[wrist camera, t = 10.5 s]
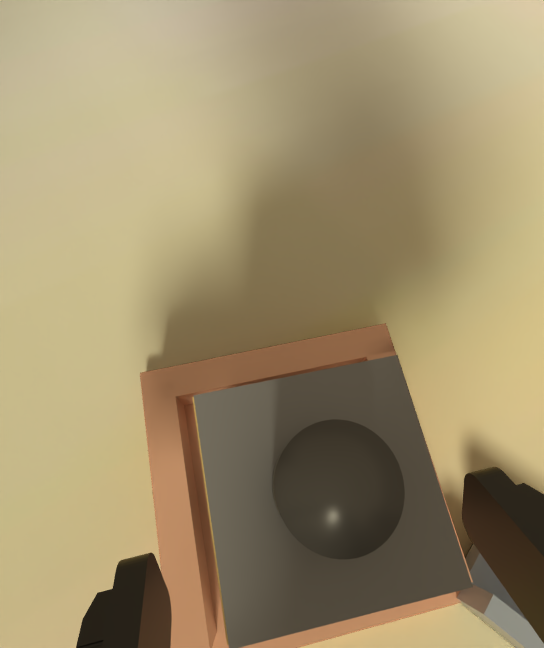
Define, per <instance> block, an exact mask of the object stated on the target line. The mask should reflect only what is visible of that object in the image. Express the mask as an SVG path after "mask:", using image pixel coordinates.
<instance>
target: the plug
mask: <svg viewBox="0 0 544 648" xmlns="http://www.w3.org/2000/svg"><path fill="white" fill-rule="evenodd" d="M193 396H194V397H192V398H193V405H194V412H195V419H196V427H197V434H198V441H199V448H200V455H201V462H202V469H203V477H204V484H205V491H206V498H207V505H208V512H209V519H210V527H211V534H212V541H213V548H214V555H215V562H216V569H217V576H218V584H219V591H220V598H221V605H222V612H223V619H224V626H225V634H226V641H227V645H229V648H240V647H244V646H248V645H252V644H256V643H259V642H263V641H267V640H271V639H275V638H279V637H283V636H286V635H290V634H294V633H298V632H302V631H306V630H310V629H313V628H317V627H321V626H325V625H329V624H333V623H337V622H341V621H344V620H348V619H352V618H356V617H360V616H364V615H368V614H371V613H375V612H379V611H383V610H387V609H391V608H395V607H398V606H402V605H406V604H410V603H414V602H418V601H422V600H425V599H429V598H433V597H437V596H441V595H445V594H449V593H452V592H456V591H460V590H464V589H468V588H472V587H473V585H472V582H471V579H470V576H469V573H468V570H467V567H466V564H465V561H464V558H463V555H462V552H461V549H460V546H459V543H458V540H457V536H456V533H455V530H454V527H453V524H452V521H451V518H450V515H449V512H448V509H447V506H446V503H445V500H444V497H443V494H442V491H441V488H440V484H439V481H438V478H437V475H436V472H435V469H434V466H433V463H432V460H431V457H430V454H429V451H428V448H427V445H426V442H425V439H424V436H423V432H422V429H421V426H420V423H419V420H418V417H417V414H416V411H415V408H414V405H413V402H412V399H411V396H410V393H409V390H408V387H407V384H406V380H405V377H404V374H403V371H402V368H401V365H400V362H399V359H398V356H397V355H394V356H389V357H384V358H379V359H374V360H369V361H364V362H359V363H354V364H349V365H344V366H339V367H334V368H329V369H324V370H319V371H314V372H309V373H304V374H299V375H294V376H289V377H283V378H278V379H273V380H268V381H263V382H258V383H253V384H248V385H243V386H238V387H233V388H228V389H223V390H218V391H213V392H208V393H203V394H198V395H193Z"/></svg>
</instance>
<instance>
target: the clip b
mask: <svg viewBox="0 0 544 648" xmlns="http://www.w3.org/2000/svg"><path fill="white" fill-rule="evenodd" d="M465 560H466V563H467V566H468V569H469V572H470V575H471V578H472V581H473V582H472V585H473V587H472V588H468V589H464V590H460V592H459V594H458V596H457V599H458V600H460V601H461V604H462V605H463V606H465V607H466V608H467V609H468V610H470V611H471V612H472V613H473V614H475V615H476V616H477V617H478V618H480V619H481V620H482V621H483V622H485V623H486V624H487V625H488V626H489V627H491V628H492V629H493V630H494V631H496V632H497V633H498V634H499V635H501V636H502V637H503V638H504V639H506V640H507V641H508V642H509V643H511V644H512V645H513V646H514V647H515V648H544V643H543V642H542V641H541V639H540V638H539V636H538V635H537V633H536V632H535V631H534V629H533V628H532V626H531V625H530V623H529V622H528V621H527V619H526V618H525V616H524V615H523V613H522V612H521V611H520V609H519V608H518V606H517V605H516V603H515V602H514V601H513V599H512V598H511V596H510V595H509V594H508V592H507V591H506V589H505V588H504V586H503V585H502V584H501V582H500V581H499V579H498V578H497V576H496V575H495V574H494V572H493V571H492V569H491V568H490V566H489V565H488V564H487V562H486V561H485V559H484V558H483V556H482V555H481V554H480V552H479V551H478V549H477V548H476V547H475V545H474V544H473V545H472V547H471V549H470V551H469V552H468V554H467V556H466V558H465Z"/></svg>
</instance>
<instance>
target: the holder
mask: <svg viewBox="0 0 544 648" xmlns="http://www.w3.org/2000/svg"><path fill="white" fill-rule="evenodd" d="M394 355H396V352H395V349H394V346H393V343H392V340H391V337H390V335H389V332H388V329H387V326H386V323H385V324H380V325H375V326H370V327H365V328H360V329H355V330H350V331H345V332H341V333H336V334H331V335H326V336H321V337H316V338H311V339H306V340H301V341H296V342H291V343H286V344H281V345H276V346H271V347H266V348H261V349H256V350H251V351H246V352H241V353H236V354H231V355H226V356H221V357H217V358H212V359H207V360H202V361H197V362H192V363H187V364H182V365H177V366H172V367H167V368H162V369H157V370H152V371H147V372H142V373H140V379H141V388H142V397H143V406H144V416H145V425H146V434H147V443H148V452H149V462H150V471H151V480H152V489H153V499H154V508H155V517H156V526H157V535H158V545H159V554H160V563H161V572H162V576H163V579H164V581H165V584H166V586H167V589H168V592H169V596H170V602H171V612H172V624H171V646H170V648H229V645H227V641H226V634H225V626H224V619H223V612H222V605H221V598H220V591H219V584H218V576H217V569H216V562H215V555H214V548H213V541H212V534H211V527H210V519H209V512H208V505H207V498H206V491H205V484H204V477H203V469H202V462H201V455H200V448H199V441H198V434H197V427H196V419H195V412H194V405H193V398H192V397H194V396H193V395H198V394H203V393H208V392H213V391H218V390H223V389H228V388H233V387H238V386H243V385H248V384H253V383H258V382H263V381H268V380H273V379H278V378H283V377H289V376H294V375H299V374H304V373H309V372H314V371H319V370H324V369H329V368H334V367H339V366H344V365H349V364H354V363H359V362H364V361H369V360H374V359H379V358H384V357H389V356H394ZM423 436H424V435H423ZM424 439H425V438H424ZM425 442H426V441H425ZM426 445H427V444H426ZM427 448H428V447H427ZM428 451H429V450H428ZM429 454H430V453H429ZM430 457H431V456H430ZM431 460H432V459H431ZM432 463H433V462H432ZM433 466H434V465H433ZM434 469H435V468H434ZM435 472H436V471H435ZM436 475H437V474H436ZM437 478H438V477H437ZM438 481H439V480H438ZM439 484H440V483H439ZM440 488H441V486H440ZM441 491H442V489H441ZM442 494H443V492H442ZM443 497H444V495H443ZM444 500H445V498H444ZM445 503H446V501H445ZM446 506H447V504H446ZM447 509H448V507H447ZM448 512H449V509H448ZM449 515H450V512H449ZM450 518H451V515H450ZM451 521H452V518H451ZM452 524H453V521H452ZM453 527H454V524H453ZM454 530H455V527H454ZM455 533H456V530H455ZM456 536H457V533H456ZM457 540H458V543H459V546H460V549H461V552H462V555H463V558H464V561H465V564H466V567H467V570H468V573H469V576H470V579H471V582H473V581H472V578H471V575H470V572H469V569H468V566H467V563H466V560H465V557H464V554H463V551H462V548H461V545H460V542H459V539H458V536H457ZM459 592H460V591H456V592H452V593H449V594H445V595H441V596H437V597H433V598H429V599H425V600H422V601H418V602H414V603H410V604H406V605H402V606H398V607H395V608H391V609H387V610H383V611H379V612H375V613H371V614H368V615H364V616H360V617H356V618H352V619H348V620H344V621H341V622H337V623H333V624H329V625H325V626H321V627H317V628H313V629H310V630H306V631H302V632H298V633H294V634H290V635H286V636H283V637H279V638H275V639H271V640H267V641H263V642H259V643H256V644H252V645H248V646H244V647H240V648H298V647H302V646H306V645H309V644H313V643H316V642H320V641H324V640H327V639H331V638H335V637H338V636H342V635H345V634H349V633H353V632H356V631H360V630H364V629H367V628H371V627H374V626H378V625H382V624H385V623H389V622H393V621H396V620H400V619H403V618H407V617H411V616H414V615H418V614H422V613H425V612H429V611H432V610H436V609H440V608H443V607H447V606H451V605H454V604H458V603H461V601H460V600H458V599H457V596H458V594H459Z"/></svg>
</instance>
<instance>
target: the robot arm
mask: <svg viewBox="0 0 544 648" xmlns="http://www.w3.org/2000/svg"><path fill="white" fill-rule="evenodd" d="M462 519H463V523H464V527H465V529H466V532H467V534H468V536H469V537H470V539H471V541H472V542H473V544H474V545H475V547H476V548H477V549H478V551H479V552H480V554H481V555H482V556H483V558H484V559H485V561H486V562H487V564H488V565H489V566H490V568H491V569H492V571H493V572H494V574H495V575H496V576H497V578H498V579H499V581H500V582H501V584H502V585H503V586H504V588H505V589H506V591H507V592H508V594H509V595H510V596H511V598H512V599H513V601H514V602H515V603H516V605H517V606H518V608H519V609H520V611H521V612H522V613H523V615H524V616H525V618H526V619H527V621H528V622H529V623H530V625H531V626H532V628H533V629H534V631H535V632H536V633H537V635H538V636H539V638H540V639H541V641H542V642H543V643H544V495H543V494H542V493H540V492H538V491H537V490H535V489H533V488H532V487H530V486H528V485H527V484H525V483H523V484H519V485H515V484H514V483H513V482H512V481H511V479H510V478H509V477H508V476H507V475H506V474H505V473H504V472H503V471H502V470H500V469H499V468H497V467H491V468H488V469H484V470H480V471H476V472H472V473H468V474H466V475H465V479H464V492H463V505H462ZM171 624H172V612H171V602H170V596H169V592H168V589H167V586H166V584H165V581H164V579H163V576H162V574H161V571H160V569H159V566H158V564H157V561H156V558H155V556H154V554H153V553H148V554H144V555H140V556H136V557H132V558H128V559H124V560H121V561H120V562H119V563H118V565H117V569H116V574H115V579H114V585H113V589H111V590H107V591H103V592H99V593H97V595H96V597H95V598H94V600H93V602H92V604H91V605H90V607H89V609H88V611H87V613H86V614H85V616H84V618H83V620H82V625H81V629H80V633H79V638H78V642H77V646H76V648H170V646H171Z"/></svg>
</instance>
